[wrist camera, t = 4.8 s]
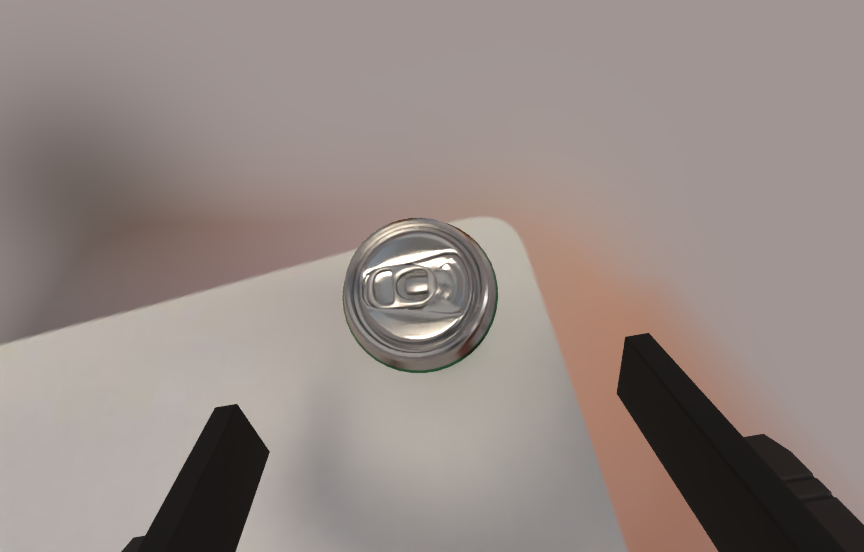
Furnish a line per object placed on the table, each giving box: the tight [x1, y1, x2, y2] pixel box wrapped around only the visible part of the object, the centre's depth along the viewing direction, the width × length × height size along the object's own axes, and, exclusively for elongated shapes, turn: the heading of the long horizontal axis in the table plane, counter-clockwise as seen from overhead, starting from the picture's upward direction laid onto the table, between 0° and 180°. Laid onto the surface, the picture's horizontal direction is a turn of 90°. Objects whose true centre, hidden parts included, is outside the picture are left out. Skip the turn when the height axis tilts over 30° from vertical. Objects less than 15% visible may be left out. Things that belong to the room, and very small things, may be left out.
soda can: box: [343, 218, 498, 373], centre depth 16 cm, size 5×5×12 cm
